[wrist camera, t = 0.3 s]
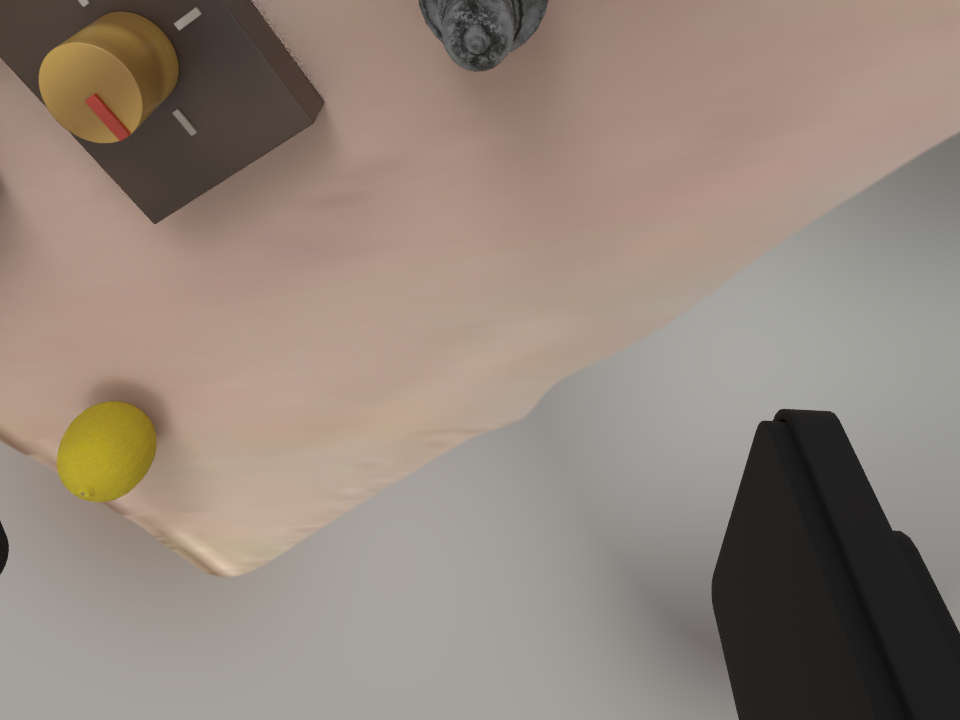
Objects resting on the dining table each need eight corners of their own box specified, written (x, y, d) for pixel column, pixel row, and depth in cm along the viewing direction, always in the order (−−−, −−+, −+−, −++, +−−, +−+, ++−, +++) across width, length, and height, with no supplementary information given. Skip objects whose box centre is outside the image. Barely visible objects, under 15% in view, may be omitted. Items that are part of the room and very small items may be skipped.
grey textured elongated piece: (423, 33, 43) (397, 121, 33) (423, -100, 39) (394, -44, 29) (541, 39, 43) (549, 129, 33) (552, -93, 39) (564, -35, 29)
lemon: (148, 370, 56) (101, 454, 49) (185, 433, 59) (145, 519, 53) (73, 385, 57) (17, 468, 50) (114, 446, 60) (66, 532, 53)
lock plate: (-29, -26, 42) (-65, -10, 39) (131, -164, 38) (104, -156, 35) (172, 200, 48) (153, 226, 46) (325, 102, 45) (313, 124, 42)
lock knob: (66, 43, 40) (12, 79, 36) (132, -8, 39) (84, 23, 35) (133, 120, 43) (90, 163, 38) (198, 75, 41) (161, 114, 37)
